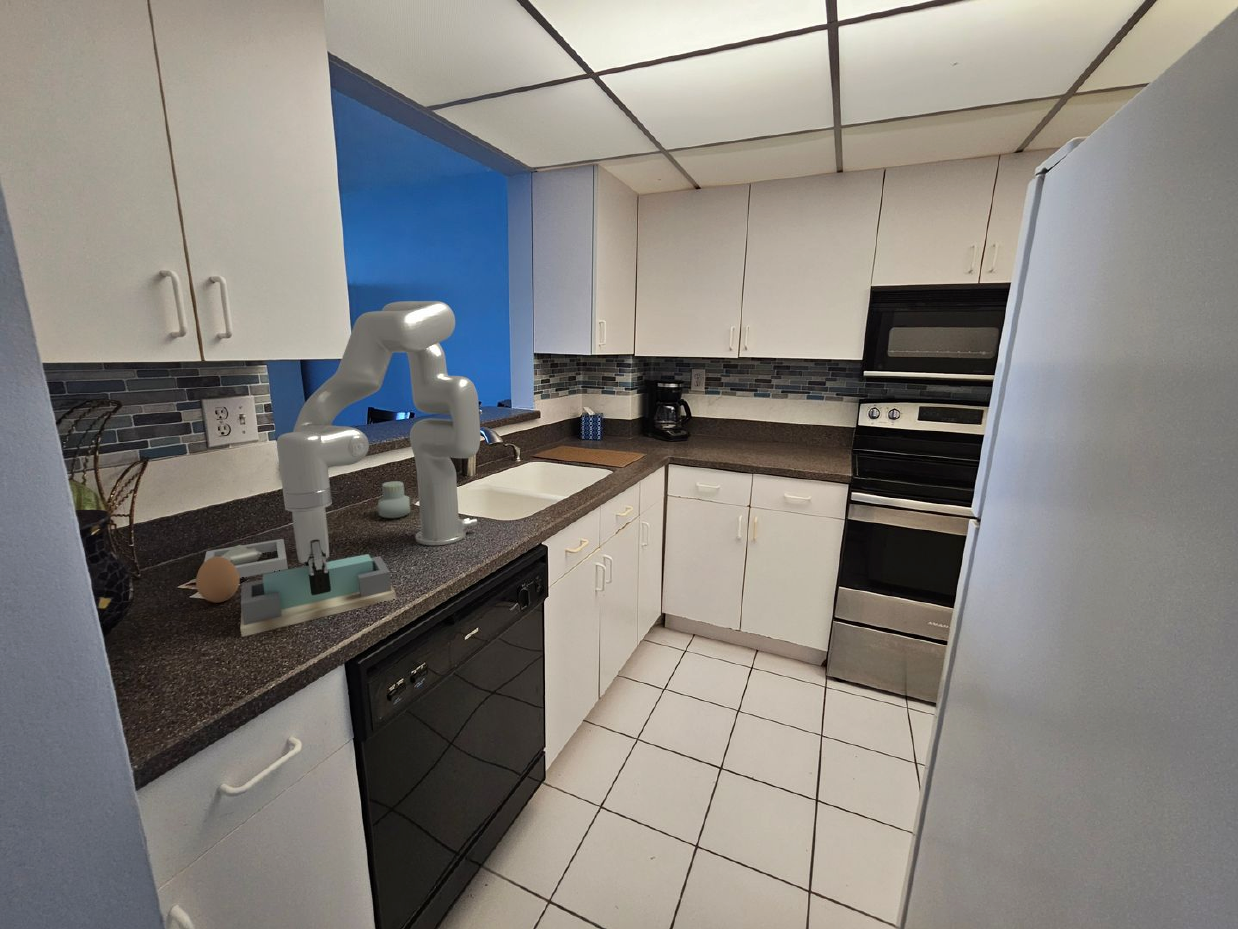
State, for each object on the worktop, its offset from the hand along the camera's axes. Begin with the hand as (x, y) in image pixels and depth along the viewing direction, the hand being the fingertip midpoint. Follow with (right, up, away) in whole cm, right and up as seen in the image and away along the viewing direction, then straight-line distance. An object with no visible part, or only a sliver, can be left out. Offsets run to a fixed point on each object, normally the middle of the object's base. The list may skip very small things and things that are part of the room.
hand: (318, 583), depth 99 cm
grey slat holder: (0, -3, +1) cm, 3 cm away
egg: (-20, -4, +2) cm, 20 cm away
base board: (0, -4, +1) cm, 4 cm away
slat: (0, -3, +1) cm, 3 cm away
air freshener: (-9, +7, +54) cm, 56 cm away
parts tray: (-27, 0, +18) cm, 33 cm away
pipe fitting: (-29, -1, +18) cm, 34 cm away
